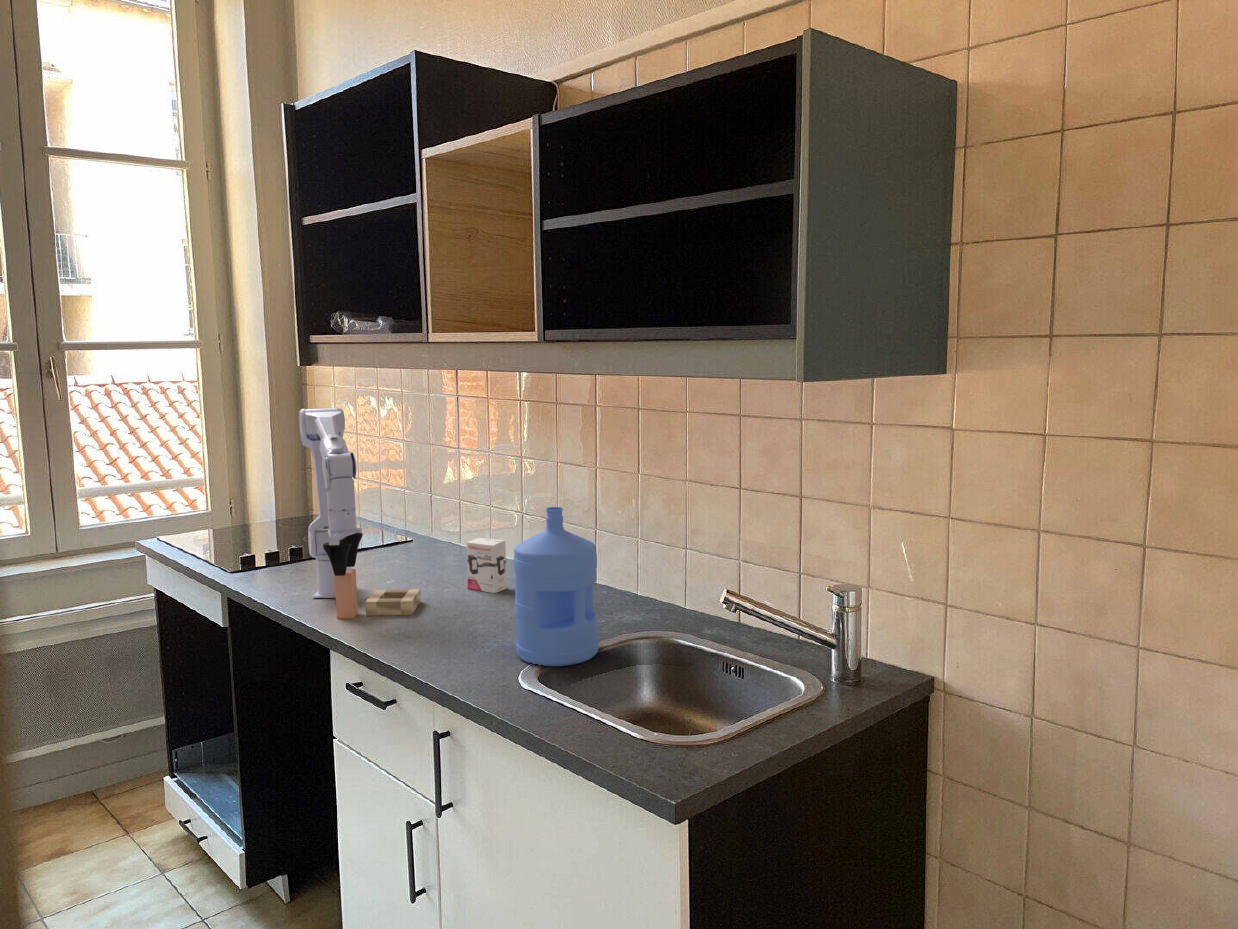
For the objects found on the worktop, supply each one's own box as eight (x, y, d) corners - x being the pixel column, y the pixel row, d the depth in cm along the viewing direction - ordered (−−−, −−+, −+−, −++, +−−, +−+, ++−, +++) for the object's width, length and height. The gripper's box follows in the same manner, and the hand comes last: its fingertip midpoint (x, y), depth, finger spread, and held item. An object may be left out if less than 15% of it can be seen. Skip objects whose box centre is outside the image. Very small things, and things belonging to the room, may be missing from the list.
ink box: (466, 589, 222) (465, 541, 221) (479, 584, 226) (478, 537, 225) (495, 593, 218) (493, 544, 216) (508, 588, 222) (506, 540, 221)
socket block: (376, 602, 212) (376, 589, 211) (420, 601, 212) (420, 588, 212) (365, 615, 202) (365, 602, 202) (412, 614, 202) (411, 601, 202)
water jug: (499, 654, 176) (494, 509, 172) (561, 635, 187) (558, 498, 183) (552, 674, 165) (549, 520, 161) (615, 653, 176) (613, 507, 172)
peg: (341, 613, 204) (339, 569, 202) (357, 613, 204) (355, 569, 202) (336, 618, 200) (334, 573, 199) (353, 618, 200) (351, 573, 199)
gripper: (351, 515, 192) (354, 579, 193) (368, 502, 206) (371, 562, 208) (317, 515, 191) (320, 579, 193) (336, 503, 206) (340, 563, 208)
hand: (345, 570), depth 200 cm, fingers open, 7 cm apart
